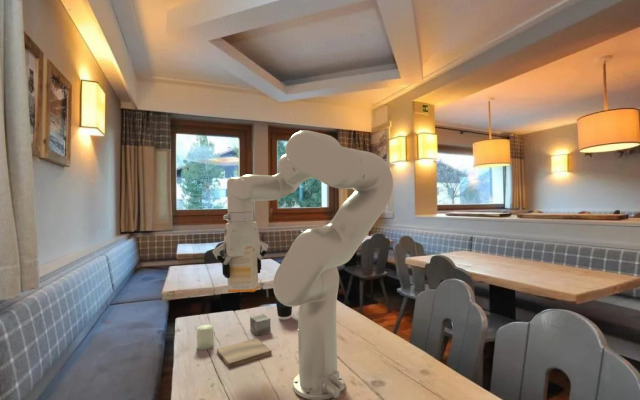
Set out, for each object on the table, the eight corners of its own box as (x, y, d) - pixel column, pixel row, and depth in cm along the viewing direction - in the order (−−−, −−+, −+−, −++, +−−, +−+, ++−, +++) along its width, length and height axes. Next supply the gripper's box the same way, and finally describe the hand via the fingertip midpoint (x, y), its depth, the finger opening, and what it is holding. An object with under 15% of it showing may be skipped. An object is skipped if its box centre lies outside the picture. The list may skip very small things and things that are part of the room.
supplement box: (259, 288, 100) (257, 245, 101) (254, 292, 96) (252, 247, 96) (233, 288, 101) (231, 246, 102) (227, 292, 97) (225, 248, 97)
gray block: (270, 332, 114) (270, 318, 114) (257, 336, 111) (257, 321, 111) (263, 327, 119) (263, 313, 119) (250, 330, 116) (250, 316, 116)
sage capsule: (215, 346, 104) (215, 328, 104) (199, 351, 101) (199, 332, 101) (211, 341, 108) (210, 323, 108) (195, 345, 105) (194, 327, 105)
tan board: (271, 354, 98) (271, 350, 98) (229, 367, 90) (229, 363, 90) (256, 341, 107) (256, 338, 107) (216, 353, 100) (216, 349, 100)
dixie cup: (293, 312, 133) (292, 286, 133) (296, 319, 126) (295, 291, 126) (273, 314, 132) (273, 287, 132) (275, 321, 124) (274, 293, 124)
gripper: (215, 220, 91) (217, 281, 91) (272, 216, 101) (273, 272, 100) (208, 219, 97) (209, 277, 97) (262, 216, 107) (263, 268, 107)
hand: (242, 274), depth 99 cm, fingers closed on supplement box, 9 cm apart
